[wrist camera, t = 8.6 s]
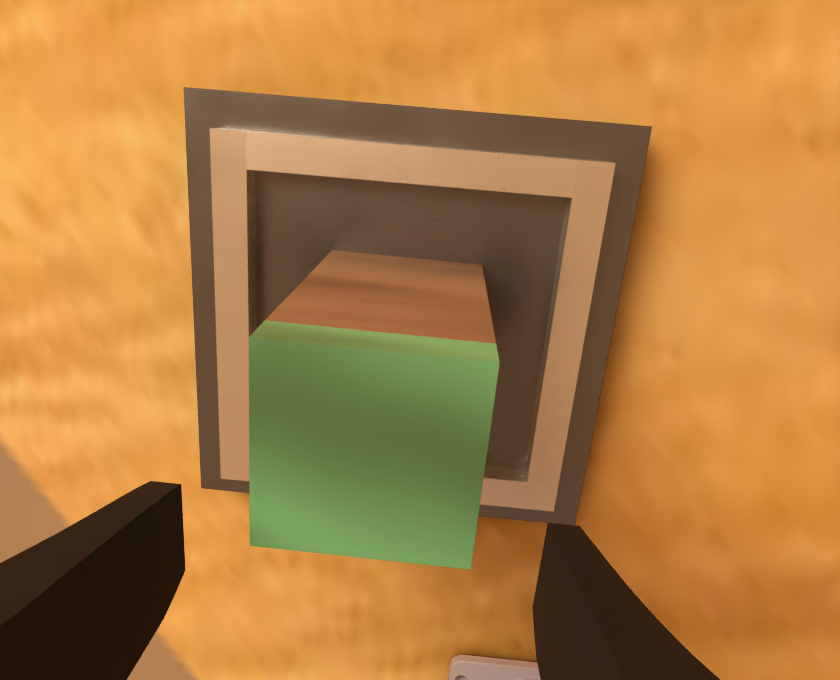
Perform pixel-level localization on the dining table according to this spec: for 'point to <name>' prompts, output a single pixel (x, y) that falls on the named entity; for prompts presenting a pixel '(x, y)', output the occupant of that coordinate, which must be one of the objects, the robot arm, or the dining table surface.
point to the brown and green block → (373, 411)
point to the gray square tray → (418, 256)
